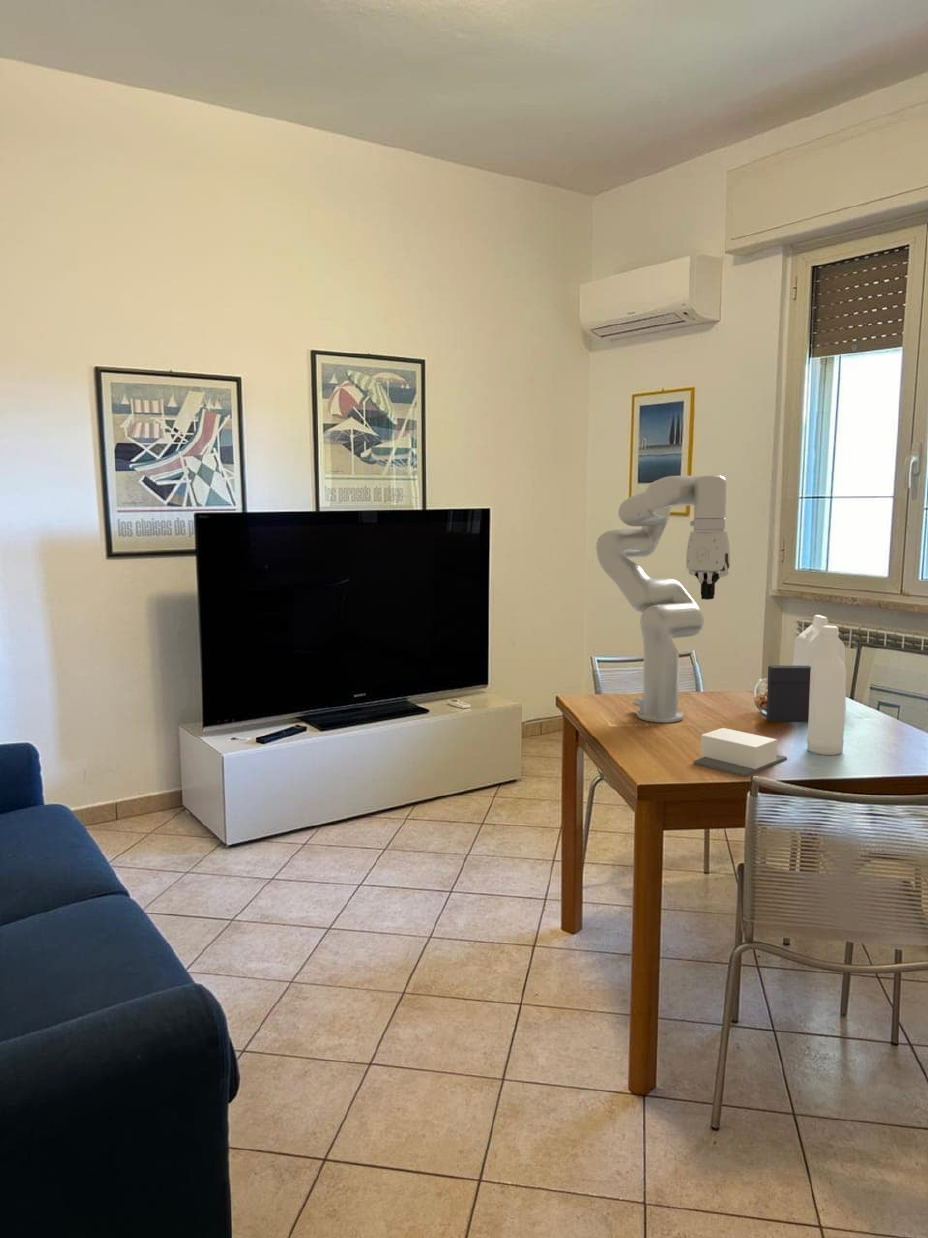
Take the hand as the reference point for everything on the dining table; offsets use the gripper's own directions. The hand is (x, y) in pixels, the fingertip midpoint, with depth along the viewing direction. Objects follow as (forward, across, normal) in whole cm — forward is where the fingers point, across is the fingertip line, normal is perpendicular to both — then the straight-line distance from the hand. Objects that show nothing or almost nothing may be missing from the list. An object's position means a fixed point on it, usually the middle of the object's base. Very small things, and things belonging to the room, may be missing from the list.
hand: (707, 598), depth 215 cm
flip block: (+32, +11, -14) cm, 37 cm away
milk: (+35, +4, +51) cm, 62 cm away
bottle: (+35, +28, +8) cm, 46 cm away
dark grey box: (+35, +8, +28) cm, 46 cm away
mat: (+35, +19, -14) cm, 42 cm away
